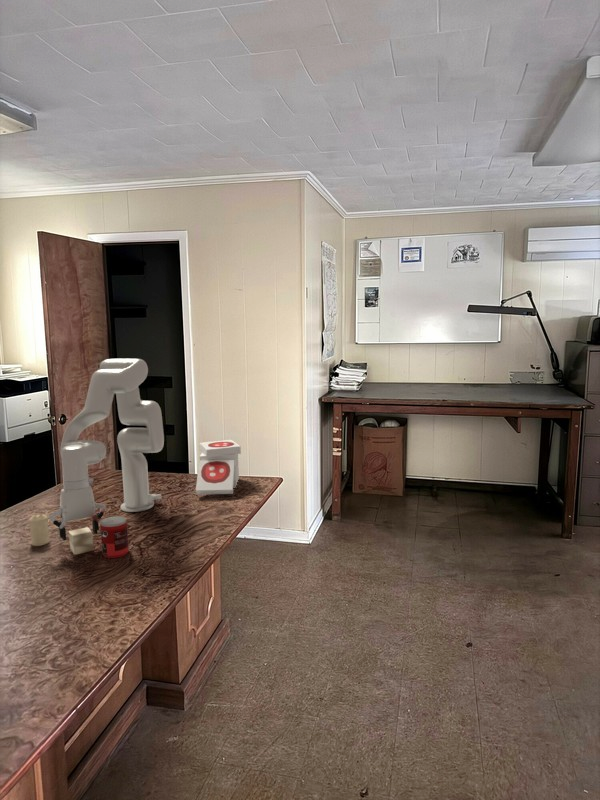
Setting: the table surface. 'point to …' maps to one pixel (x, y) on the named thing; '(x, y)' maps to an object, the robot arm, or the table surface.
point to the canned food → (114, 537)
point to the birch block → (81, 540)
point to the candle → (39, 529)
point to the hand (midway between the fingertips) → (79, 535)
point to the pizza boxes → (218, 467)
